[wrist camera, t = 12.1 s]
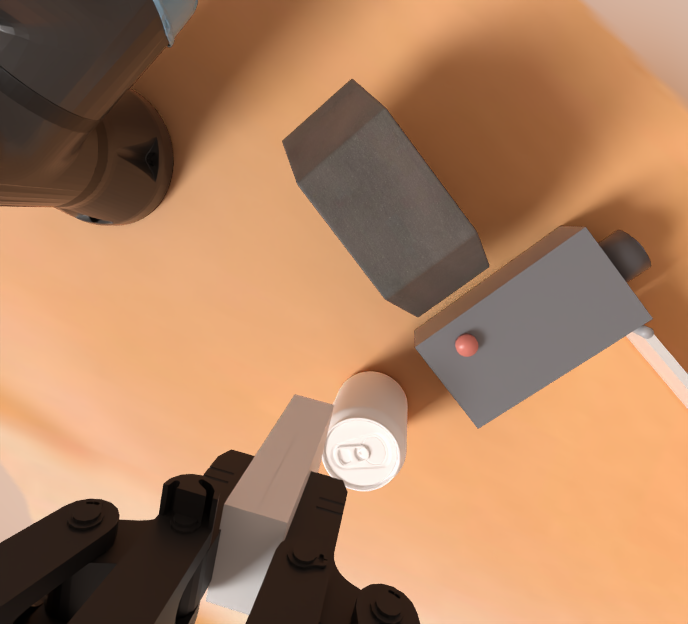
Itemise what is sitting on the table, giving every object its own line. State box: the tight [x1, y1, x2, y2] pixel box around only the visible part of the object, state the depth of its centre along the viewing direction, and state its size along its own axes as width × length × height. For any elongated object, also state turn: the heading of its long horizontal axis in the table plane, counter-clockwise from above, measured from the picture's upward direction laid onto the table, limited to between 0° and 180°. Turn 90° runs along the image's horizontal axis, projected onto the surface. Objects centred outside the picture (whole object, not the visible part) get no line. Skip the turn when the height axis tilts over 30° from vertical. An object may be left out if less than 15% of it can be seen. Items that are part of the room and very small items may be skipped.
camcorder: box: [414, 226, 653, 429], centre depth 44 cm, size 21×10×8 cm, turn 128°
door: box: [626, 325, 688, 408], centre depth 43 cm, size 14×2×7 cm, turn 42°
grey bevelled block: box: [282, 79, 489, 317], centre depth 39 cm, size 17×8×21 cm
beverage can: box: [322, 371, 408, 491], centre depth 46 cm, size 8×8×12 cm
